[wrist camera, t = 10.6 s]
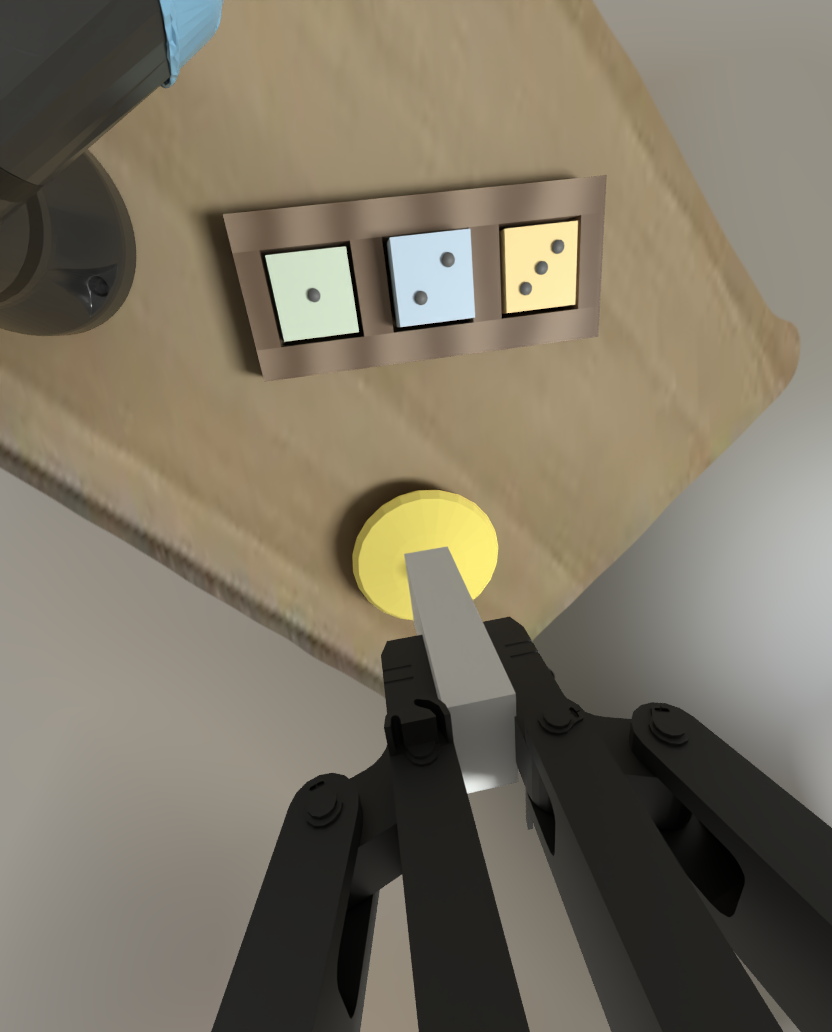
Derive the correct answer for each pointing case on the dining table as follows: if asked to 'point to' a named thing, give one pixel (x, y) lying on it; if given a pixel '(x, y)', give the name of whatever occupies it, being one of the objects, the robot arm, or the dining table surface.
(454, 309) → the tile
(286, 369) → the board
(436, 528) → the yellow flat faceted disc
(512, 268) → the tile
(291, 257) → the tile
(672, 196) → the dining table surface
